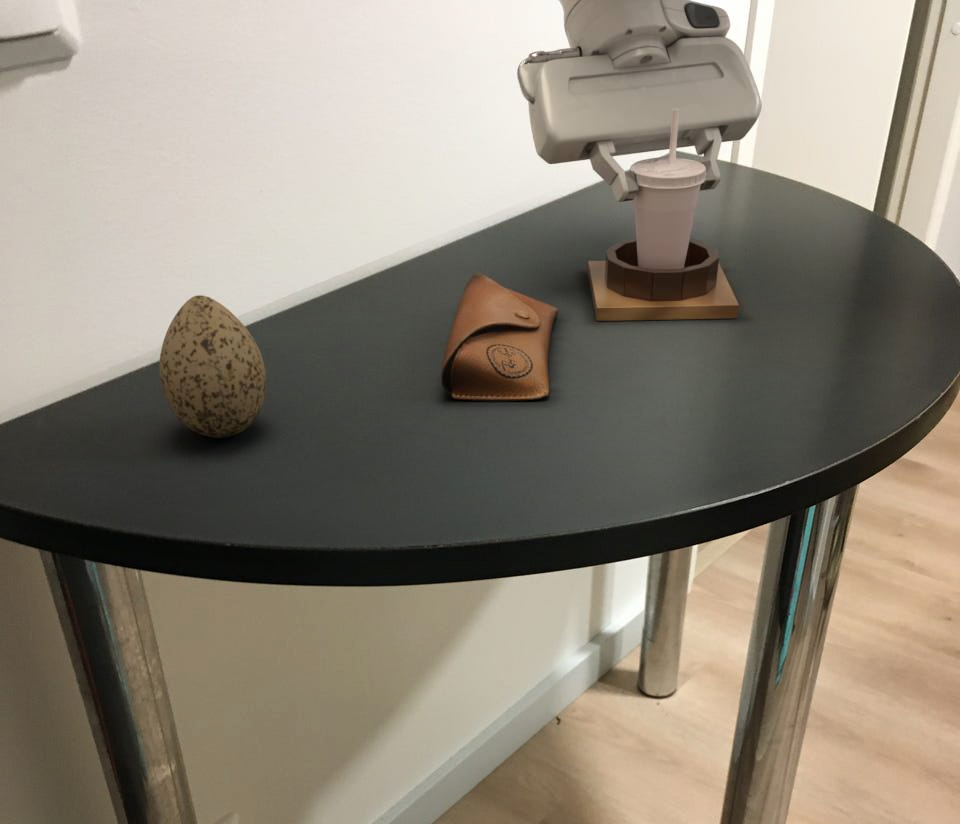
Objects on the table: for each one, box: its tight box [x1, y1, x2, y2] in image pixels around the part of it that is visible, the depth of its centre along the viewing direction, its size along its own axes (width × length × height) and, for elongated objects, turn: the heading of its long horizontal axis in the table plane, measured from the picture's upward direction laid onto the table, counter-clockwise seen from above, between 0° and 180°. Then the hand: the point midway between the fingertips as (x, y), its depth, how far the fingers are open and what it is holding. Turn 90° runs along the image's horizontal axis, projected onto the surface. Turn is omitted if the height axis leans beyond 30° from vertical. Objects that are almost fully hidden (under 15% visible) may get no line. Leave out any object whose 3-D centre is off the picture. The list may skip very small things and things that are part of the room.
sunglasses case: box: [440, 272, 559, 403], centre depth 89 cm, size 18×7×7 cm
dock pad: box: [587, 237, 740, 322], centre depth 98 cm, size 12×12×4 cm
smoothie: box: [629, 109, 706, 269], centre depth 94 cm, size 6×6×14 cm
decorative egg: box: [158, 294, 268, 439], centre depth 76 cm, size 7×7×10 cm
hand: (670, 191), depth 93 cm, fingers closed on smoothie, 6 cm apart
